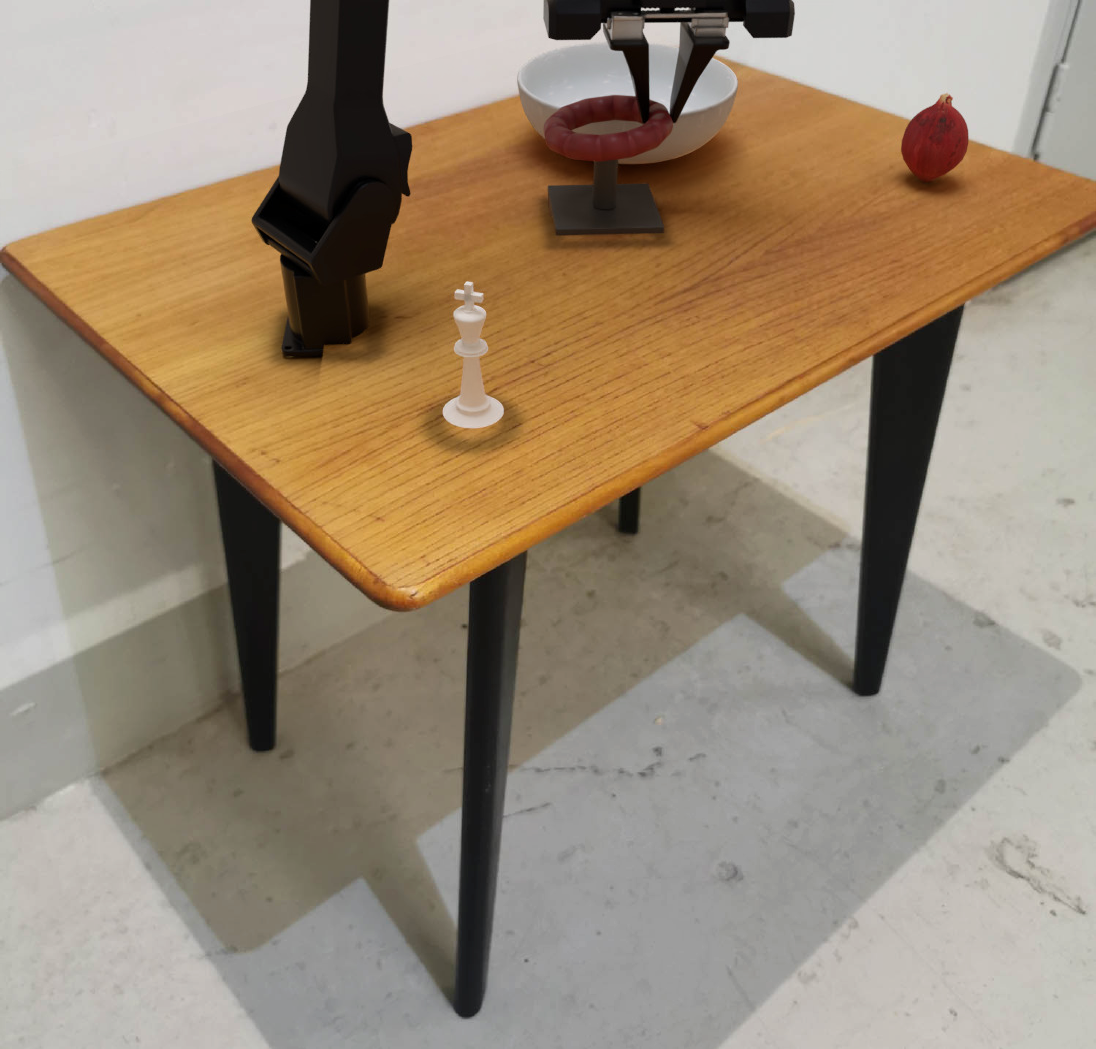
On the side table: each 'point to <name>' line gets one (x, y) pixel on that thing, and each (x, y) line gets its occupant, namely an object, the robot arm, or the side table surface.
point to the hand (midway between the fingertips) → (658, 121)
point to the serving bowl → (626, 93)
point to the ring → (606, 144)
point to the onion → (935, 140)
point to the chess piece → (471, 367)
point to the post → (604, 206)
